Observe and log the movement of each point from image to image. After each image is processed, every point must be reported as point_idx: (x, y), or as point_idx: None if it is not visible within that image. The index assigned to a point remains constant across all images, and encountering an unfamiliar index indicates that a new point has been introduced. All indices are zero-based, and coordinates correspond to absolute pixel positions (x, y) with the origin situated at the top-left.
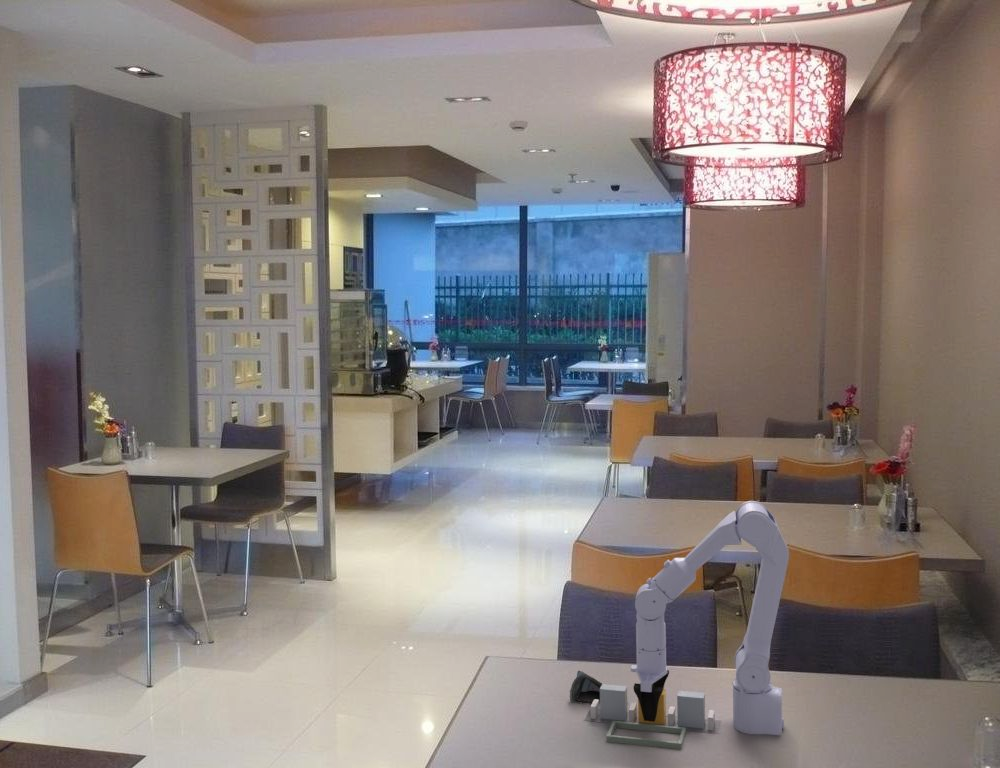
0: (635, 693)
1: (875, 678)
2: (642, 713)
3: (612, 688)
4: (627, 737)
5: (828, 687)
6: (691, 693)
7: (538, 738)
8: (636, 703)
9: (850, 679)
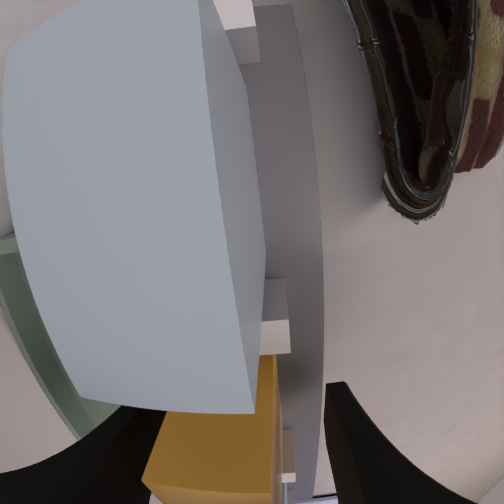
0: (7, 472)
1: (479, 498)
2: (120, 406)
3: (52, 216)
4: (11, 324)
5: (471, 492)
6: None
7: (15, 7)
8: (284, 352)
9: (485, 490)
